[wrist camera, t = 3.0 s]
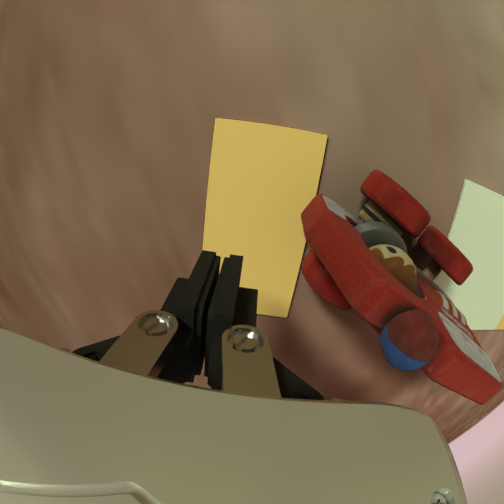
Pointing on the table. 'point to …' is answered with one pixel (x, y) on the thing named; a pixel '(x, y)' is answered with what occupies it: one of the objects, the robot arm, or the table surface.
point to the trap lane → (295, 201)
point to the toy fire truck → (397, 284)
